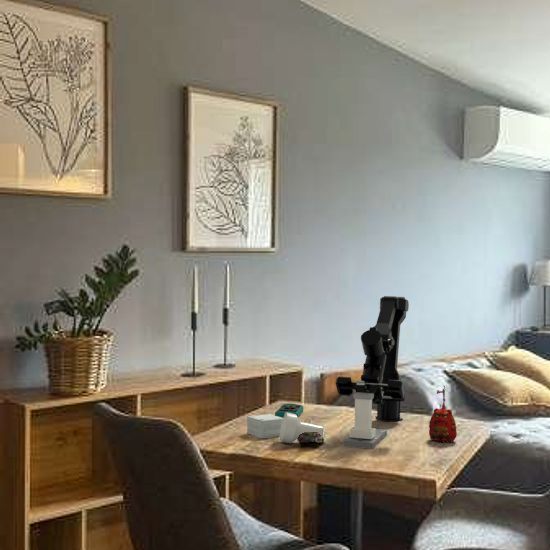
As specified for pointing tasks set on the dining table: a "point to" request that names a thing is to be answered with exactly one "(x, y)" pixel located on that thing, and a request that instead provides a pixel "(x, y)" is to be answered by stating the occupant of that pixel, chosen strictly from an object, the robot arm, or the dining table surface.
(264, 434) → the small box
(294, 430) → the spotlight
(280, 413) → the digital multimeter
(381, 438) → the fader console
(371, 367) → the robot arm
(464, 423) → the dining table surface
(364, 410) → the fader tab
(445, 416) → the red clay folk toy
